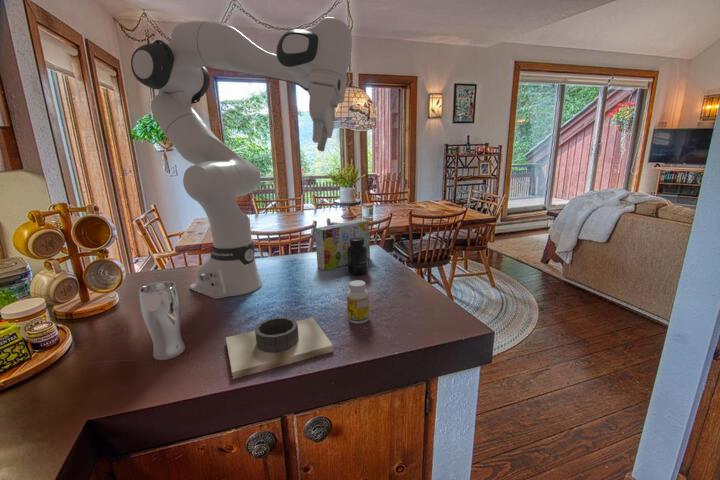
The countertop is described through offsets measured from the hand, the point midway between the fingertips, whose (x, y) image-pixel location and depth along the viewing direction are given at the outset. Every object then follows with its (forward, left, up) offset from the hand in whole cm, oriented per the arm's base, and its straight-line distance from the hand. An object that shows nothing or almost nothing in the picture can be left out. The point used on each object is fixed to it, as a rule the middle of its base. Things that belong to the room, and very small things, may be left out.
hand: (318, 146), depth 85 cm
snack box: (-11, +34, -42) cm, 55 cm away
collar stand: (+1, -23, -42) cm, 48 cm away
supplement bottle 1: (-2, +26, -42) cm, 49 cm away
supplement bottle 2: (+12, -5, -42) cm, 44 cm away
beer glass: (-20, -33, -42) cm, 57 cm away
